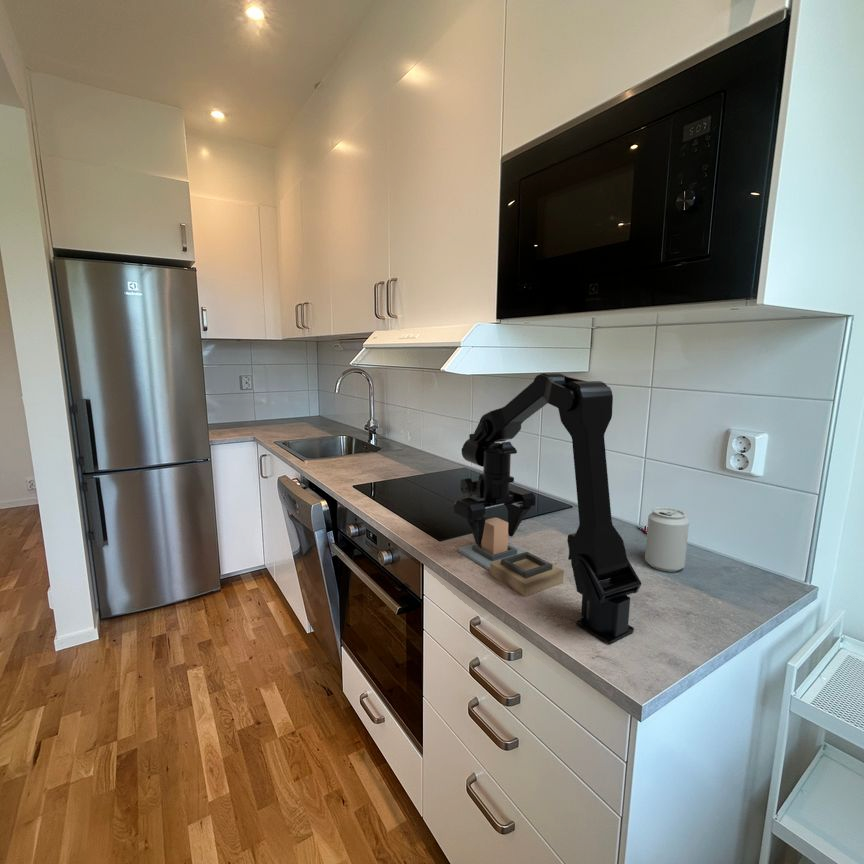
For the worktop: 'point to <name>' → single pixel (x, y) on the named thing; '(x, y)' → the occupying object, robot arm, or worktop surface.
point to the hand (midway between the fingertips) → (494, 540)
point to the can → (666, 539)
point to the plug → (495, 536)
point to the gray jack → (487, 554)
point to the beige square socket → (526, 573)
